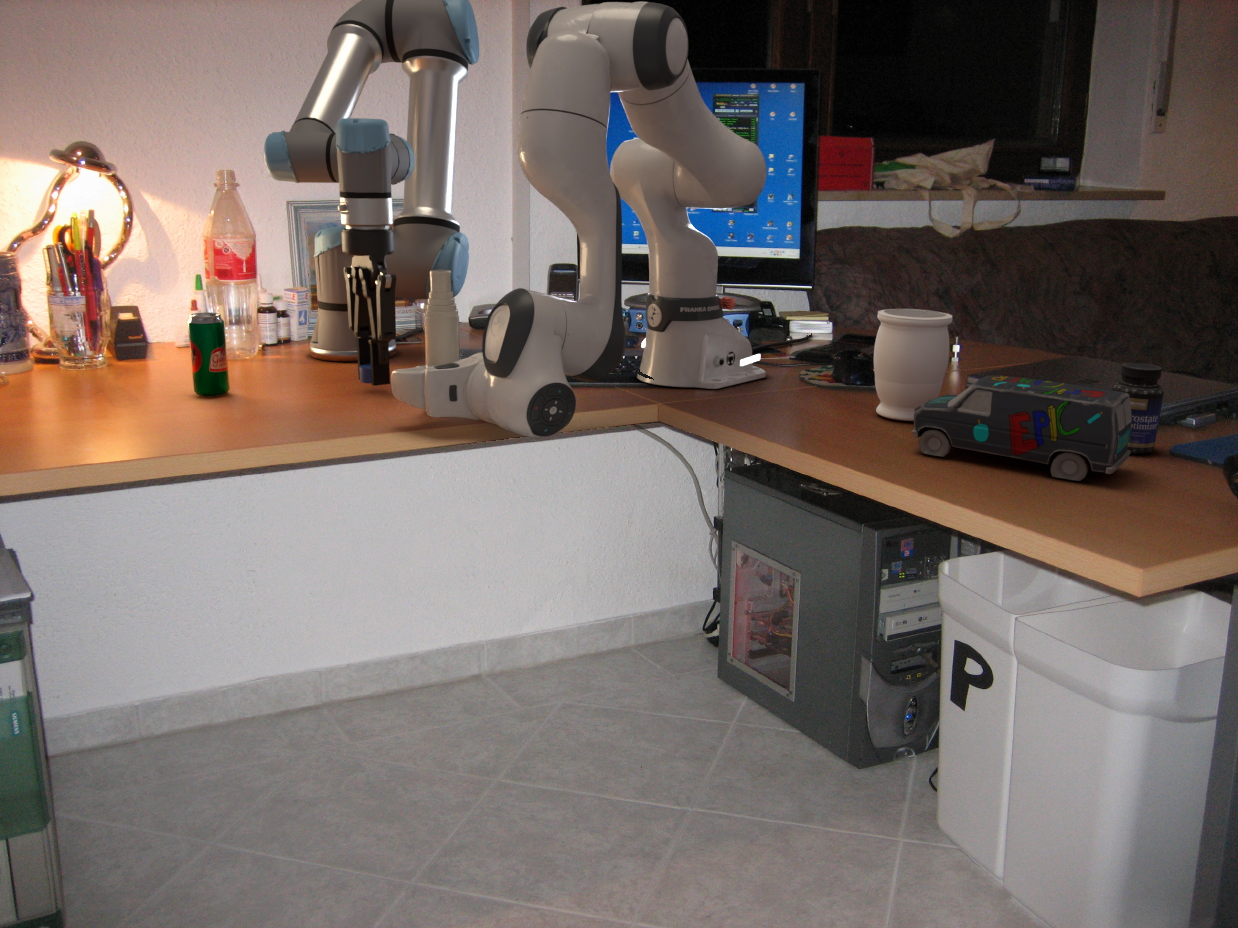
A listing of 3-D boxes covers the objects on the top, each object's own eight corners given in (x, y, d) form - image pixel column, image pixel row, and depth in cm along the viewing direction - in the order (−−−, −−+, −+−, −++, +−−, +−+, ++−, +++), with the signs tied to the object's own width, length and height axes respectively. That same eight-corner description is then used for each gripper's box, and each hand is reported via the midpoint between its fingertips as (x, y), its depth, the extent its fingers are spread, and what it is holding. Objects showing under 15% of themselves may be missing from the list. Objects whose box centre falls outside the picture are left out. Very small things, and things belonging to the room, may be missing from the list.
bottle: (440, 417, 150) (436, 273, 145) (420, 411, 154) (415, 270, 148) (468, 412, 154) (464, 271, 148) (447, 406, 157) (443, 268, 151)
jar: (854, 409, 159) (862, 309, 155) (910, 404, 163) (920, 306, 159) (898, 426, 150) (909, 320, 146) (957, 420, 154) (969, 317, 150)
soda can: (218, 398, 158) (211, 317, 155) (187, 396, 159) (179, 316, 156) (236, 391, 163) (230, 313, 160) (206, 389, 164) (199, 311, 161)
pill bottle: (1117, 454, 138) (1130, 370, 135) (1094, 442, 144) (1106, 361, 140) (1163, 454, 138) (1177, 370, 135) (1139, 442, 144) (1152, 361, 141)
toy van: (934, 435, 146) (942, 362, 143) (1130, 468, 132) (1143, 388, 129) (905, 451, 137) (912, 375, 134) (1110, 488, 123) (1124, 404, 121)
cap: (387, 383, 164) (386, 368, 163) (360, 384, 163) (359, 369, 162) (386, 378, 167) (386, 363, 167) (360, 378, 167) (359, 364, 166)
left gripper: (320, 224, 163) (329, 374, 169) (368, 232, 150) (375, 394, 156) (366, 223, 167) (372, 370, 174) (416, 230, 154) (422, 388, 161)
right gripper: (553, 356, 147) (502, 341, 158) (418, 371, 135) (373, 353, 146) (553, 400, 149) (503, 382, 160) (420, 419, 137) (375, 398, 148)
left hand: (374, 381), depth 165 cm, fingers closed on cap, 4 cm apart
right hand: (439, 369), depth 153 cm, fingers closed on bottle, 5 cm apart
